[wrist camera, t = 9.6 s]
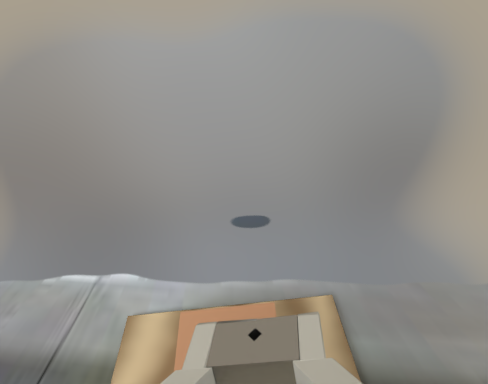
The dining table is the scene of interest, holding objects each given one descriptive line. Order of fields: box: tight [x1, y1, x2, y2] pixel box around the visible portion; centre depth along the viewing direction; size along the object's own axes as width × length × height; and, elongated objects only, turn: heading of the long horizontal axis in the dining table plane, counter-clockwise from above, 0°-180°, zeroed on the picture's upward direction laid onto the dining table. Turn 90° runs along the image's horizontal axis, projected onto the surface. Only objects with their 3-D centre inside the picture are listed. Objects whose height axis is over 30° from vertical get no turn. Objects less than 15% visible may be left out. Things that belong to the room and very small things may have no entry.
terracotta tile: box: [174, 302, 277, 371], centre depth 38 cm, size 10×3×13 cm
